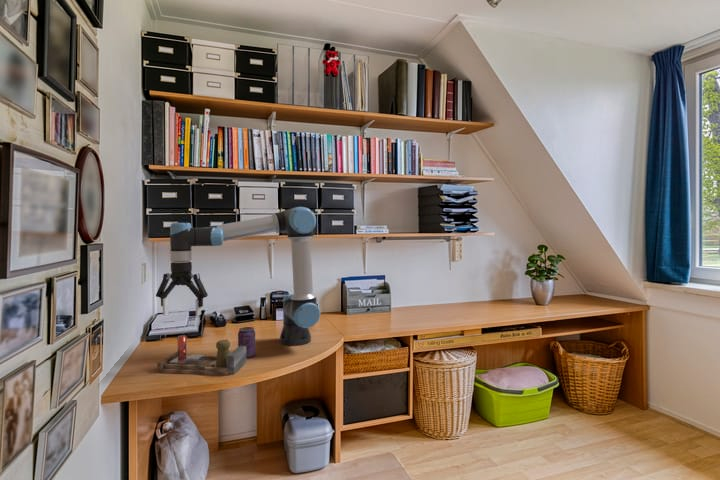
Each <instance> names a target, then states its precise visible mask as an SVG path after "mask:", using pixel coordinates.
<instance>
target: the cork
mask: <svg viewBox="0 0 720 480" xmlns="http://www.w3.org/2000/svg"><path fill="white" fill-rule="evenodd" d="M215 347H216V349H217V352H216V356H217V359H216V366H215V367H221V368H226V356H227V355H228V354H229V353H230V349H229V348H230V347H231V343H230V341H229V339H219V340H218V341H217V342H216V344H215Z"/></svg>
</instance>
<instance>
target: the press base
mask: <svg viewBox="0 0 720 480" xmlns="http://www.w3.org/2000/svg"><path fill="white" fill-rule="evenodd" d="M177 357H178V350H177V351H176V352H174V353H173V354H171V355H168V356H167V357H166V358H165V357H164V359H162V360H160V361H158V362H157V363H156V364H157V365H156V367H157V368H156V372H157V373H163V374H164V373H165V374H189V375H211V376H213V375H214V376H229V375H235V374H237V373H238V371H240V370H241V369H242V368H243V367H244V366H245V365H246V364H247V358H246V346H239V347H238V346H237V347H236V348H235V349H233V350H232V351H231V352H229V354H228V355H227V356H226V368H221V367H216V359H217V355H204V362H203V363H202V364H200V365H182V364H169V362H170V361H172V360H173V359H175V358H177Z"/></svg>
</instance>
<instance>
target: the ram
mask: <svg viewBox="0 0 720 480" xmlns="http://www.w3.org/2000/svg"><path fill="white" fill-rule="evenodd" d="M177 351H178V357H177V358H175V359H173V360H172V361H170V362H169V364H182V365H200V364H202V363H203V362H204V356H205V354H193V353H192V354H188V353H187V351H188V350H187V335H186V334H181V335H178V336H177Z"/></svg>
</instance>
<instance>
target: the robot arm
mask: <svg viewBox="0 0 720 480" xmlns="http://www.w3.org/2000/svg"><path fill="white" fill-rule="evenodd" d="M316 226H317V217H316V215H315V213H314V211H312V210H311V209H310V208H308V207H304V206H296V207H291V208H287V209H285V210H283V211H278V212H274V213H272V214H271V215H270V216H264V217H263V216H262V217H258V218H252V219H251V218H250V219H245V220H240V221H235V222H234V221H233V222H227V223H223V224H217V225H211V226H206V227H205V226H204V227H193V226H192V223H190V222H172V223H171V224H170V228H169V229H170V230H169V231H170V232H169V238H170V239H169V241H170V245H169V246H170V261H171V263H170V271H171V273H169V272H167V273H164V274H163V276H162V281H161V283H160V285H159V287H158V290H157V292H156V294H155V297H156V298H160V306H161V307H162V316H167V315H169V314H170V313H169V312H170V309H169V308H170V307H169V304H170V303H169V301H170V300H169V299H170V298H169V297H168V295H169V294H170V293H171V292H172V290H174V288H175V287H176V286H186V287H188V289H189V290H190V291H191V292H192V293H193V294H194V296H195V297H196V299H195V317H199V316H201V315H202V307H204V298H206V297H208V296H209V295H208V292H207V290H206V288H205V286H204V284H203V282H202V280H201V276H200V273H194V274H193V273H192V272H193V269H192V268H193V265H192V263H193V262H191V261H192V247H219V246H223V244H224V242H229V241H232V240H233V241H234V240H238V239H242V238H249V237H252V236H260V235H264V234H269V233H276V234H280V233H286V234H287V235H286V236H287V239H288V240H289V241H290V245H291V247H290V248H291V263H292V264H291V265H292V282H293V283H292V284H293V285H292V286H293V287H292V288H293V293H291V294H285V295H284V296H283V299H282V307H283V308H282V309H283V311H282V312H283V315H282V316H283V317H282V319H283V320H282V322H283V325H282V326H283V327H282V329H281V332H280V335H279V343H280V344H282V345H285V346H300V345H306V344H308V343H310V342H311V341H312V335H311V332H310V328H312V327H314V326H315V325H316V324H317V323H318V322H319V321H320V318H321V310H320V308H319V306H318V305H317V303H318V302H317V300H318V299H317V295H316V294H315V293H314V292H313V291H314V289H313V271H312V268H313V267H312V265H313V264H312V250H311V249H312V247H311V241H312V239H313V238H314V229H315V228H316ZM170 279H171V282H170V283H169V281H170ZM192 280H193V281H194V282H193V281H192ZM168 283H169V285H168Z"/></svg>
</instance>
